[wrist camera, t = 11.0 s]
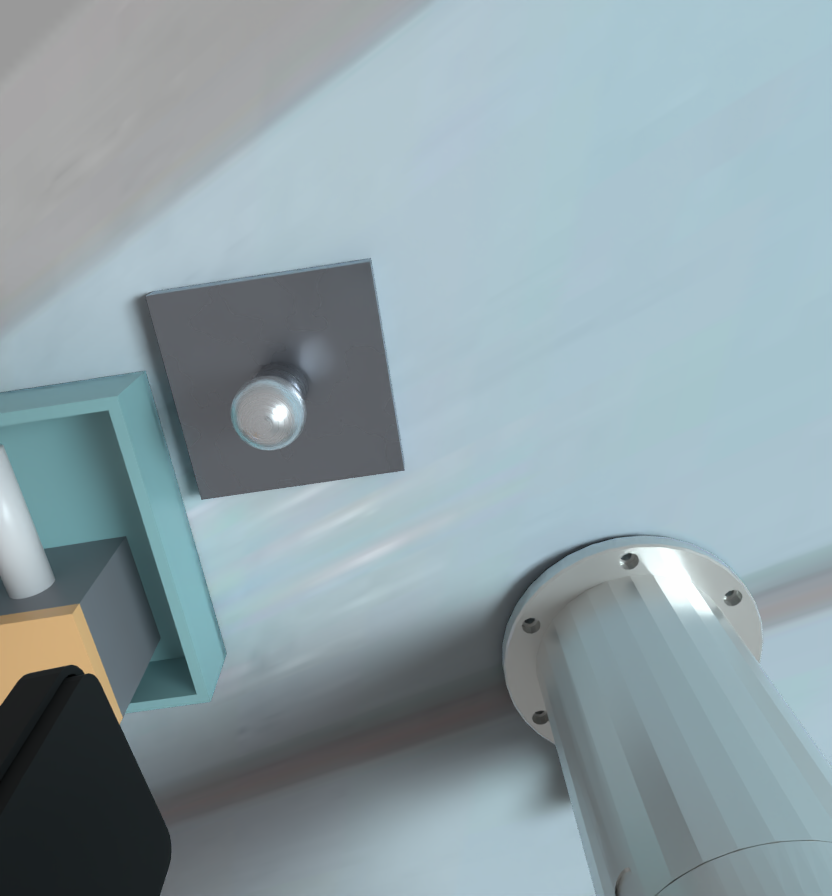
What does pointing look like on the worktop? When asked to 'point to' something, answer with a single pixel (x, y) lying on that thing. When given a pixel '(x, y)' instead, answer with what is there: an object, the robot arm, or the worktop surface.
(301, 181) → the worktop surface
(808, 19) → the worktop surface
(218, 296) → the grey piece
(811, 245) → the worktop surface
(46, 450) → the bin
